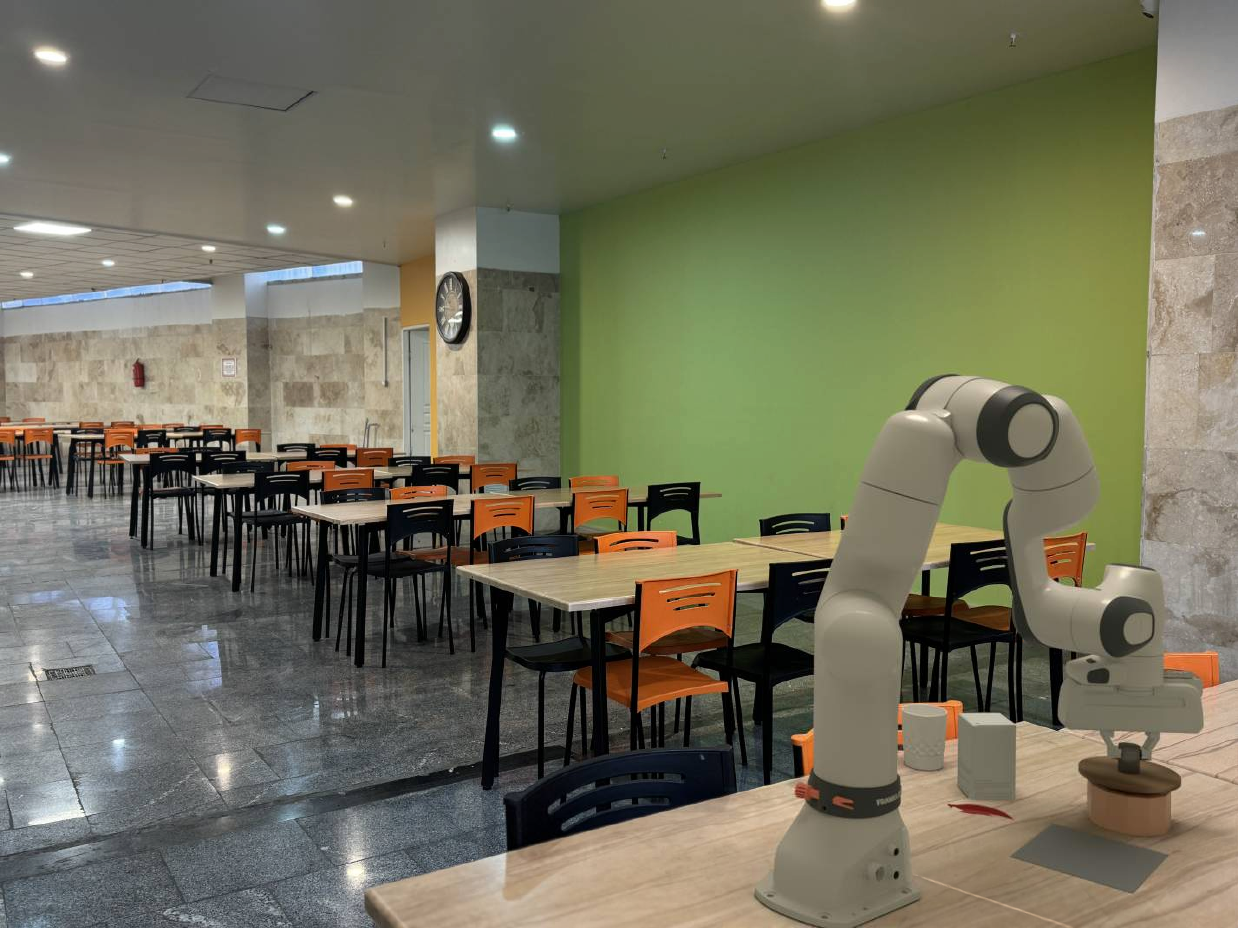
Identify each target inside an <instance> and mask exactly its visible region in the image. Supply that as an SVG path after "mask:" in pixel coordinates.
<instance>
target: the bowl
mask: <svg viewBox="0 0 1238 928" xmlns="http://www.w3.org/2000/svg"><path fill="white" fill-rule="evenodd" d="M1086 782H1087V784H1086V786H1087V787H1086V788H1087V793H1086V799H1087V801H1086V815H1087V817H1088V818H1089V821H1091V822H1092V823H1094V824H1096V825H1097V826H1099V827H1102V828H1103V829H1105V830H1109V831H1111V832H1116V833H1120V834H1124V835H1127V836H1137V837H1138V836H1139V837H1141V836H1142V837H1153V836H1160V835H1161V836H1162V835H1166V833H1168V831H1169V830H1171V827H1172V826H1171V821H1172V820H1171V819H1172V818H1171V817H1172V814H1171V813H1172V791H1171V792H1165V793H1140V792H1131V791H1125V790H1119V789H1115V788H1110V787H1107V786H1103V785H1100V784H1097V783H1095V782H1092V781H1090V780H1088V779H1087V781H1086Z"/></svg>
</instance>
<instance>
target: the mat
mask: <svg viewBox="0 0 1238 928" xmlns="http://www.w3.org/2000/svg"><path fill="white" fill-rule="evenodd" d="M1167 857H1169V854H1168V853H1164V852H1161V851H1158V850H1157V851H1156V850H1153V849H1150V848H1145V847H1143V846H1138V845H1135V844H1130V843H1127V842H1124V841H1119V840H1118V839H1117V840H1116V839H1114V838H1113V839H1112V838H1108V837H1106V836H1101V835H1097V834H1094V833H1090V832H1085V831H1083V830H1079V829H1075V828H1071V827H1068V826H1064V825H1060V824H1057V823H1051V824H1049V825H1048V826H1047V827H1046V828H1044V829H1043V830H1042V831H1041V832H1039V833H1038V834H1037V835H1036V836H1034V837H1033V838H1032V839H1030V840H1029V841H1028V842H1026V843H1025V844H1024V845H1022V846H1021V847H1020V848H1019V849H1018V850H1016V851H1015V852H1013V853H1012V854H1011V855H1009V858H1012V859H1016V860H1019V861H1021V862H1026V863H1029V864H1033V865H1036V866H1038V867H1043V868H1046V869H1049V870H1052V871H1056V872H1060V873H1061V874H1066V875H1068V876H1072V877H1076V878H1079V879H1082V880H1086V881H1089V882H1092V883H1095V884H1098V885H1102V886H1106V887H1109V888H1113V889H1115V890H1118V891H1122V892H1126V893H1129V894H1134V893H1135V892H1136V891H1137V890H1138V889H1139V888H1140V887H1141V886H1142V884H1143V883H1144V882H1145V881H1146V880H1147V879H1148V878H1149V877H1150V876H1151V875H1152V874H1153V872H1154V871H1156V870H1157V868H1158V867H1159V866H1161V864H1162V863H1163V862H1164V861H1165V859H1167Z"/></svg>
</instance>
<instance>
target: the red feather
mask: <svg viewBox="0 0 1238 928" xmlns="http://www.w3.org/2000/svg"><path fill="white" fill-rule="evenodd" d="M947 806H948V807H949V808H950V809H952V808H956V809H958V810H959V812H960V813H962V814H963V813H965V814H970V815H971V814H972V815H980V816H981V815H982V816H987V817H992V816H996V817H1002V818H1006V819H1010V820H1013V821H1015V819H1014V818H1013V817H1012V816H1011V815H1009V814H1008V813H1007V812H1004V811H1002V810H1001V809H998V808H994V807H990V806H986V805H982V804H976V803H975V804H974V803H960V804H959V803H958V804H954V803H953V804H952V803H947Z"/></svg>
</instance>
